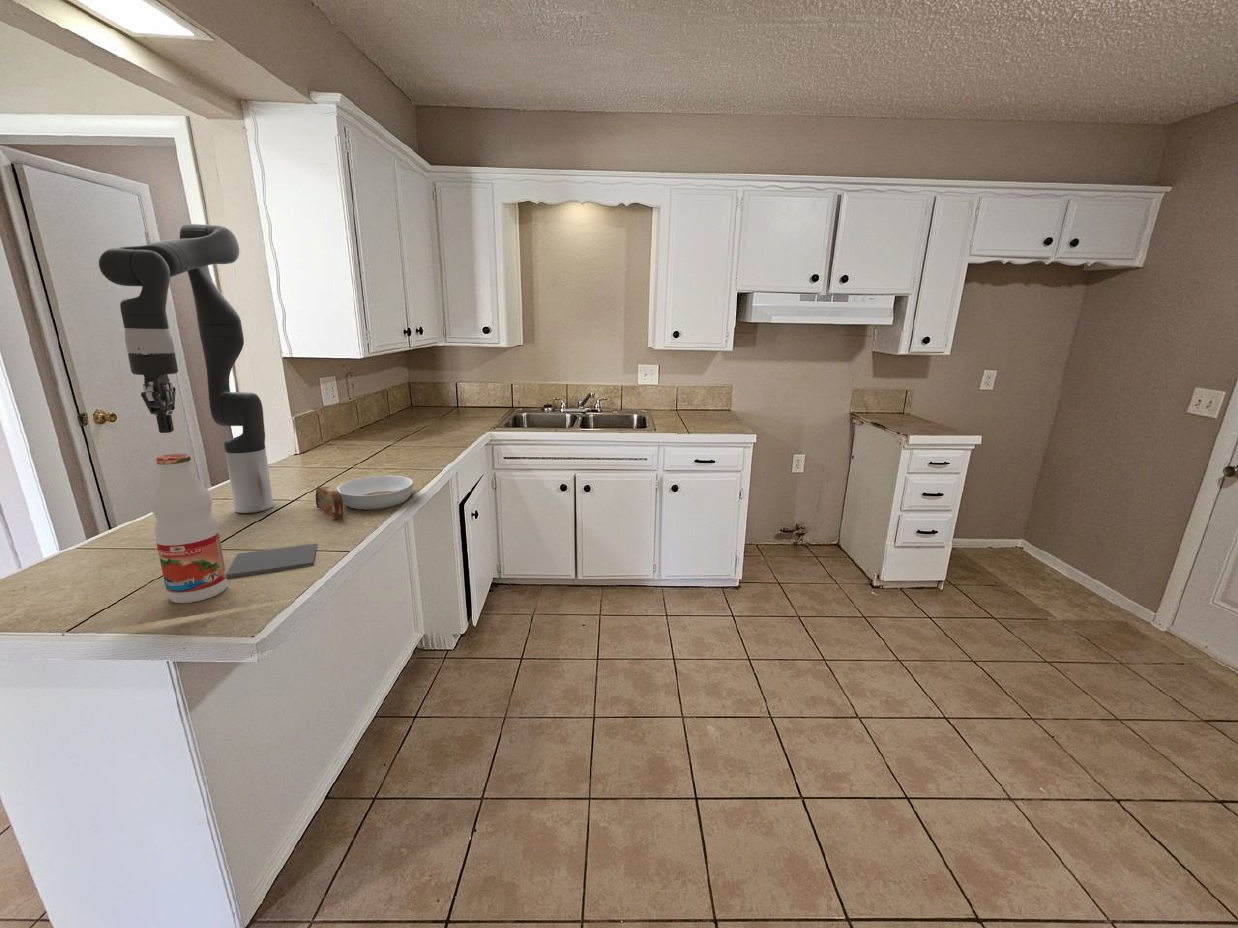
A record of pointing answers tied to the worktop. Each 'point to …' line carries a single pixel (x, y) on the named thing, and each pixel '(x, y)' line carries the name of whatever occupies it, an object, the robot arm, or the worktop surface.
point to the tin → (330, 502)
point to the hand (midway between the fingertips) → (166, 432)
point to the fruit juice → (186, 533)
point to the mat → (272, 560)
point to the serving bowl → (359, 487)
